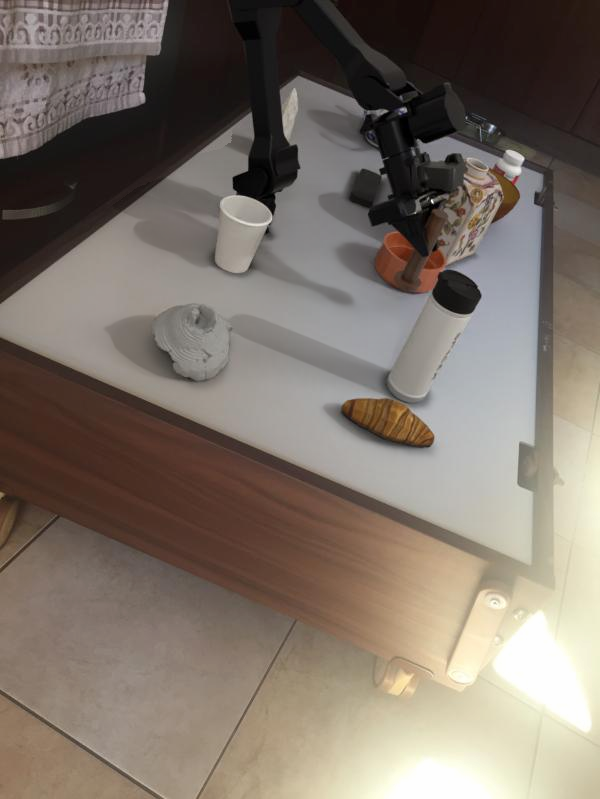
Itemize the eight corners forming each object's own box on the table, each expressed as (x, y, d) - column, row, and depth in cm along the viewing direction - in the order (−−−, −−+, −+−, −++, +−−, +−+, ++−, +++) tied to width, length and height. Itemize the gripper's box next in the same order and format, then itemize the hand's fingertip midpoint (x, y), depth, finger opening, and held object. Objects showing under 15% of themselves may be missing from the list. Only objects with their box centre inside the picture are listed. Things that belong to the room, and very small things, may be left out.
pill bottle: (489, 203, 170) (512, 160, 163) (476, 189, 174) (497, 146, 167) (509, 205, 173) (532, 162, 166) (495, 191, 177) (518, 149, 170)
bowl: (481, 254, 150) (505, 211, 143) (409, 212, 154) (428, 169, 147) (507, 229, 163) (530, 189, 156) (440, 191, 167) (459, 151, 160)
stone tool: (272, 166, 150) (293, 95, 140) (259, 159, 150) (280, 88, 141) (289, 155, 156) (310, 86, 147) (277, 148, 157) (297, 79, 147)
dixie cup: (234, 244, 124) (249, 191, 118) (266, 271, 121) (283, 219, 114) (196, 253, 118) (209, 198, 112) (228, 282, 115) (244, 228, 109)
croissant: (334, 428, 98) (347, 402, 95) (343, 397, 103) (355, 372, 100) (427, 464, 98) (443, 440, 95) (431, 432, 104) (446, 408, 100)
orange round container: (382, 291, 128) (394, 265, 124) (365, 252, 136) (376, 226, 132) (442, 299, 132) (455, 274, 128) (422, 261, 140) (434, 237, 136)
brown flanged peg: (405, 293, 115) (439, 222, 107) (388, 276, 118) (421, 205, 109) (424, 290, 118) (459, 220, 110) (407, 274, 120) (441, 204, 112)
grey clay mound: (234, 393, 101) (258, 353, 92) (149, 391, 96) (166, 348, 88) (223, 321, 106) (245, 276, 98) (142, 315, 101) (157, 268, 93)
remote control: (370, 211, 150) (380, 180, 161) (373, 203, 149) (383, 173, 160) (348, 202, 150) (359, 172, 161) (350, 194, 149) (362, 165, 160)
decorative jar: (399, 234, 145) (437, 151, 133) (430, 224, 153) (468, 144, 141) (445, 268, 141) (488, 184, 129) (475, 255, 148) (518, 175, 137)
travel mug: (380, 371, 110) (435, 261, 98) (420, 378, 112) (479, 271, 99) (387, 399, 106) (445, 288, 93) (428, 406, 108) (491, 299, 95)
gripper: (418, 147, 97) (451, 259, 101) (474, 126, 110) (501, 226, 115) (351, 171, 104) (384, 275, 108) (411, 149, 118) (438, 242, 122)
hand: (430, 253), depth 113 cm, fingers closed on brown flanged peg, 2 cm apart
